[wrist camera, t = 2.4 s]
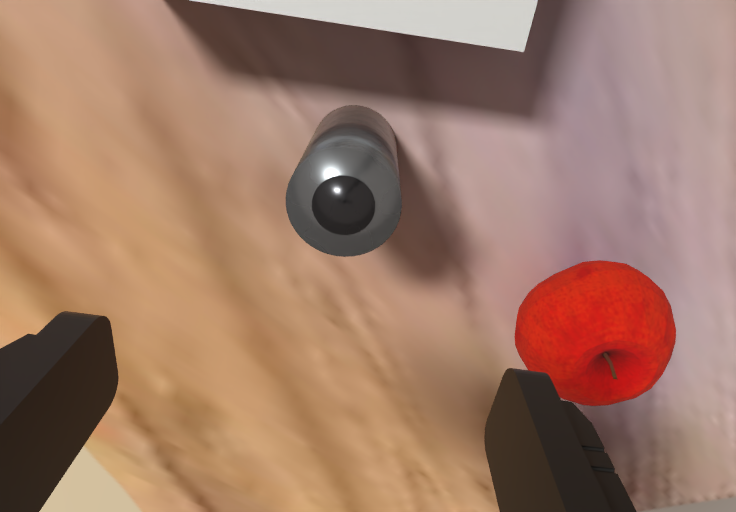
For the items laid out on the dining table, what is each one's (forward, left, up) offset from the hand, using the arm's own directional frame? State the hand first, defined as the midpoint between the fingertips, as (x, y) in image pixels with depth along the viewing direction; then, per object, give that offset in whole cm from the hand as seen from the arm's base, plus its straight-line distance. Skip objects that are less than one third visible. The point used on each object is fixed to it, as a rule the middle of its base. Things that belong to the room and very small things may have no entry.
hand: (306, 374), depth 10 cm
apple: (-14, +7, -18) cm, 24 cm away
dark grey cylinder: (0, 0, -17) cm, 17 cm away
